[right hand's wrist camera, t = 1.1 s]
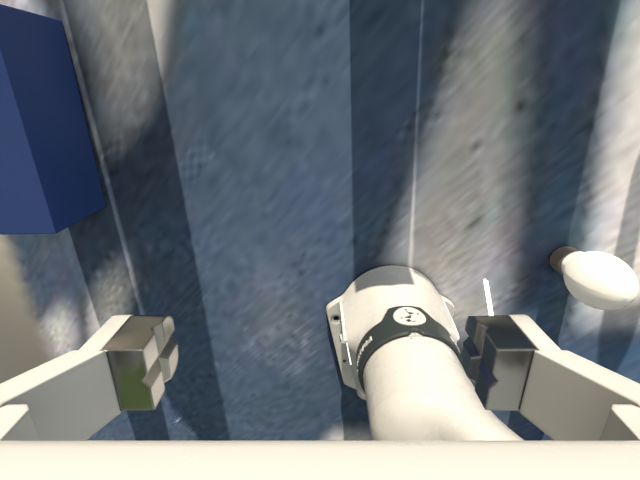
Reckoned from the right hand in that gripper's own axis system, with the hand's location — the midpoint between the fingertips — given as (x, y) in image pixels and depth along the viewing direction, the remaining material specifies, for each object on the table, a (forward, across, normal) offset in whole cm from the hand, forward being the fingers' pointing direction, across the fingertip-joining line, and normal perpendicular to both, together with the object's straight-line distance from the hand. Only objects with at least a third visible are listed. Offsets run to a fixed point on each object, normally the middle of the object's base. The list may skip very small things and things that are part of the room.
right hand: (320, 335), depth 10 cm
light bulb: (+39, +34, -15) cm, 54 cm away
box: (+39, -32, +3) cm, 50 cm away
